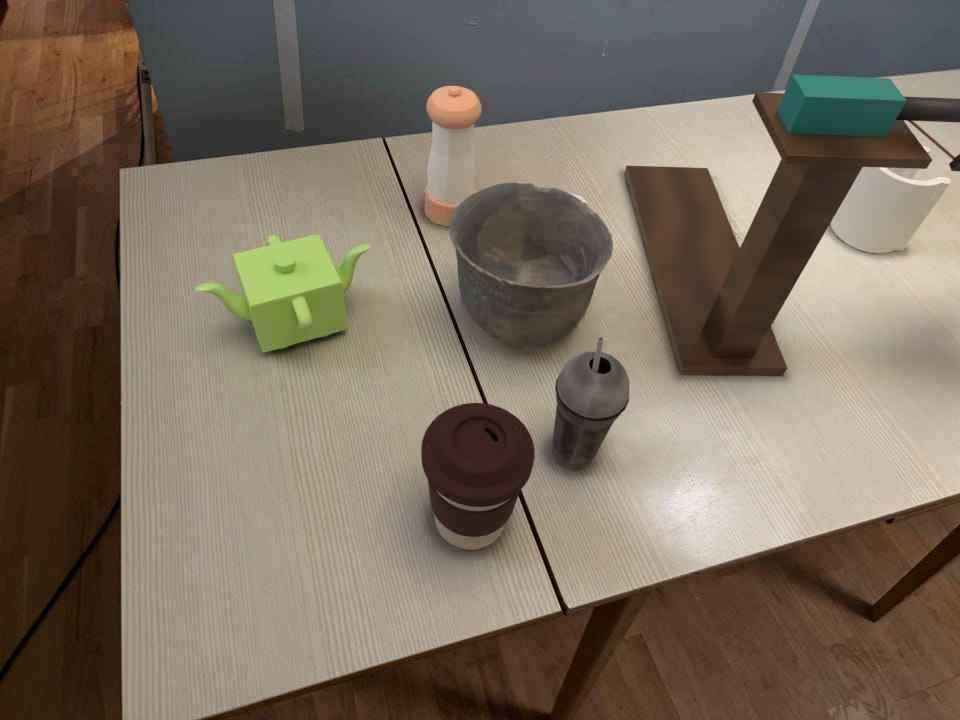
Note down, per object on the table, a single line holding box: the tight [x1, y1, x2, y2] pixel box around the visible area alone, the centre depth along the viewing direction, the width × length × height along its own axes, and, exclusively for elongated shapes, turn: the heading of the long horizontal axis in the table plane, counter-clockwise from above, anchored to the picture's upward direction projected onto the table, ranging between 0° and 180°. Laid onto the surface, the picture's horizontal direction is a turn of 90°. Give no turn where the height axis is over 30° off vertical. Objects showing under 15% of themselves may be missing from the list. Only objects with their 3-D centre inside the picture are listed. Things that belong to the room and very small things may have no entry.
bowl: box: [448, 182, 614, 349], centre depth 84 cm, size 18×18×15 cm
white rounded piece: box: [829, 144, 952, 254], centre depth 106 cm, size 25×10×12 cm, turn 179°
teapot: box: [194, 233, 372, 354], centre depth 83 cm, size 15×13×11 cm
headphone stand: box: [623, 91, 933, 377], centre depth 86 cm, size 13×41×32 cm, turn 2°
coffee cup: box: [420, 402, 536, 551], centre depth 66 cm, size 10×10×15 cm
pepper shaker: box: [424, 85, 483, 227], centre depth 95 cm, size 7×7×19 cm
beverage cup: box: [551, 336, 630, 471], centre depth 70 cm, size 7×7×20 cm
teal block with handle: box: [777, 73, 960, 137], centre depth 63 cm, size 22×4×4 cm, turn 92°
